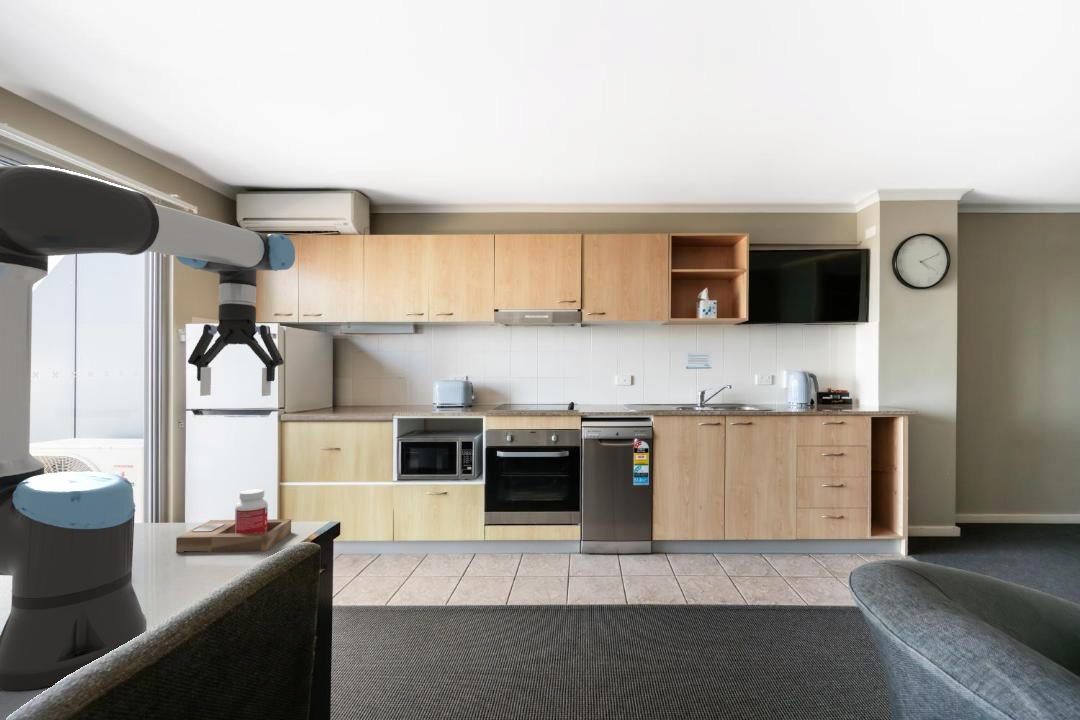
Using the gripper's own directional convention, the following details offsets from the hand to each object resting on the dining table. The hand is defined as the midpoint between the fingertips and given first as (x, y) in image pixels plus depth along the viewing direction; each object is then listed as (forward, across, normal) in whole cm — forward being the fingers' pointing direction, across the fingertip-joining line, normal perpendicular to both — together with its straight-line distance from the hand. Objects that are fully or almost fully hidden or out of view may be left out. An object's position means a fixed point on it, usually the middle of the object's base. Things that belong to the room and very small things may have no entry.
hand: (235, 395), depth 116 cm
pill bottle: (+32, -7, +6) cm, 33 cm away
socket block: (+32, -4, +6) cm, 33 cm away
